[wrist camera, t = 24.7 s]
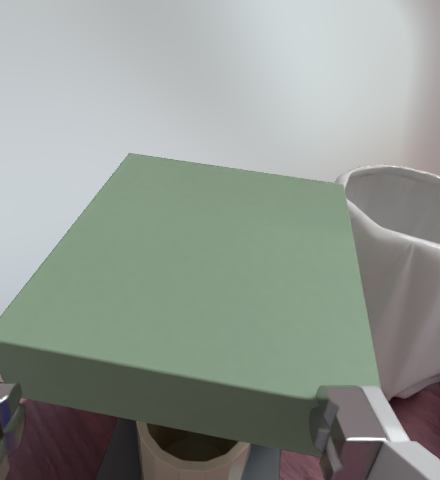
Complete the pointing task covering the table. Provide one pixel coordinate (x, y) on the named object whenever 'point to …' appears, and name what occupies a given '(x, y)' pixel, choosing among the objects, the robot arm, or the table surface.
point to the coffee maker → (196, 310)
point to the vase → (399, 270)
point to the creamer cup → (188, 455)
